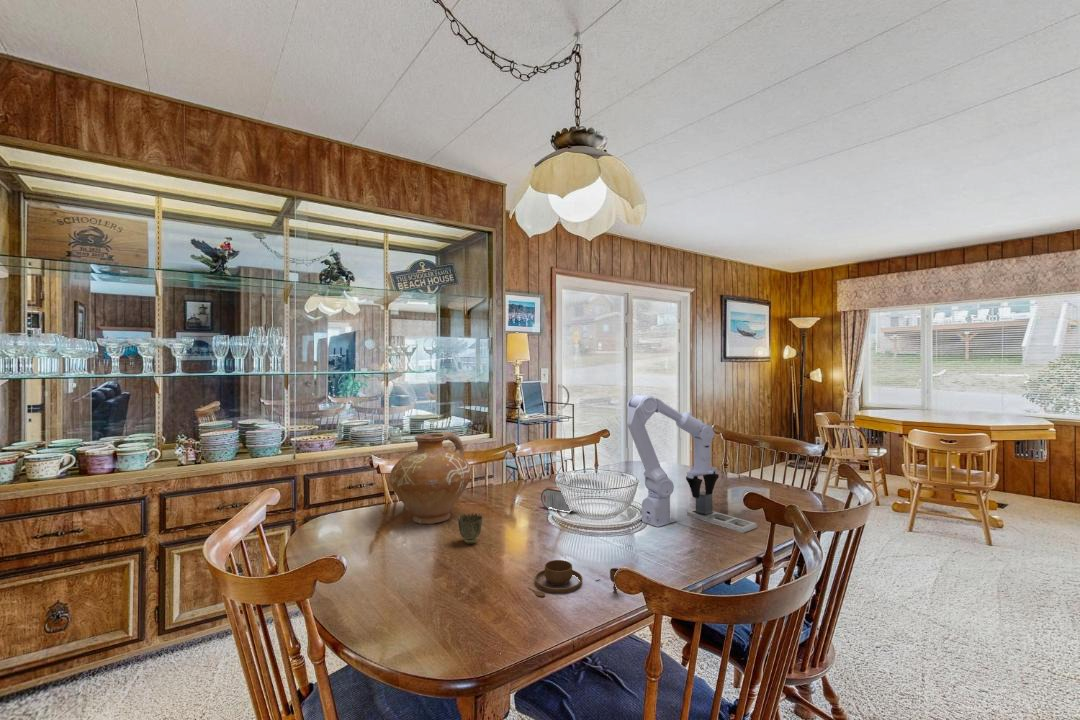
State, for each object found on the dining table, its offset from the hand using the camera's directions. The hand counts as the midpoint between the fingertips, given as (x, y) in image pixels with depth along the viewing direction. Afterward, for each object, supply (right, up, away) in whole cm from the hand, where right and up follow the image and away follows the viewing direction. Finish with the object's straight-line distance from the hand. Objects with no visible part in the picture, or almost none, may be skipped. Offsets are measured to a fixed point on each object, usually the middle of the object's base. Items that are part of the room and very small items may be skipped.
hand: (702, 495), depth 172 cm
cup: (-79, -8, -23) cm, 82 cm away
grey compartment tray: (+4, -7, -6) cm, 10 cm away
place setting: (-50, -9, -53) cm, 73 cm away
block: (0, -7, 0) cm, 7 cm away
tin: (-50, -8, +8) cm, 51 cm away
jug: (-96, -9, +1) cm, 96 cm away
